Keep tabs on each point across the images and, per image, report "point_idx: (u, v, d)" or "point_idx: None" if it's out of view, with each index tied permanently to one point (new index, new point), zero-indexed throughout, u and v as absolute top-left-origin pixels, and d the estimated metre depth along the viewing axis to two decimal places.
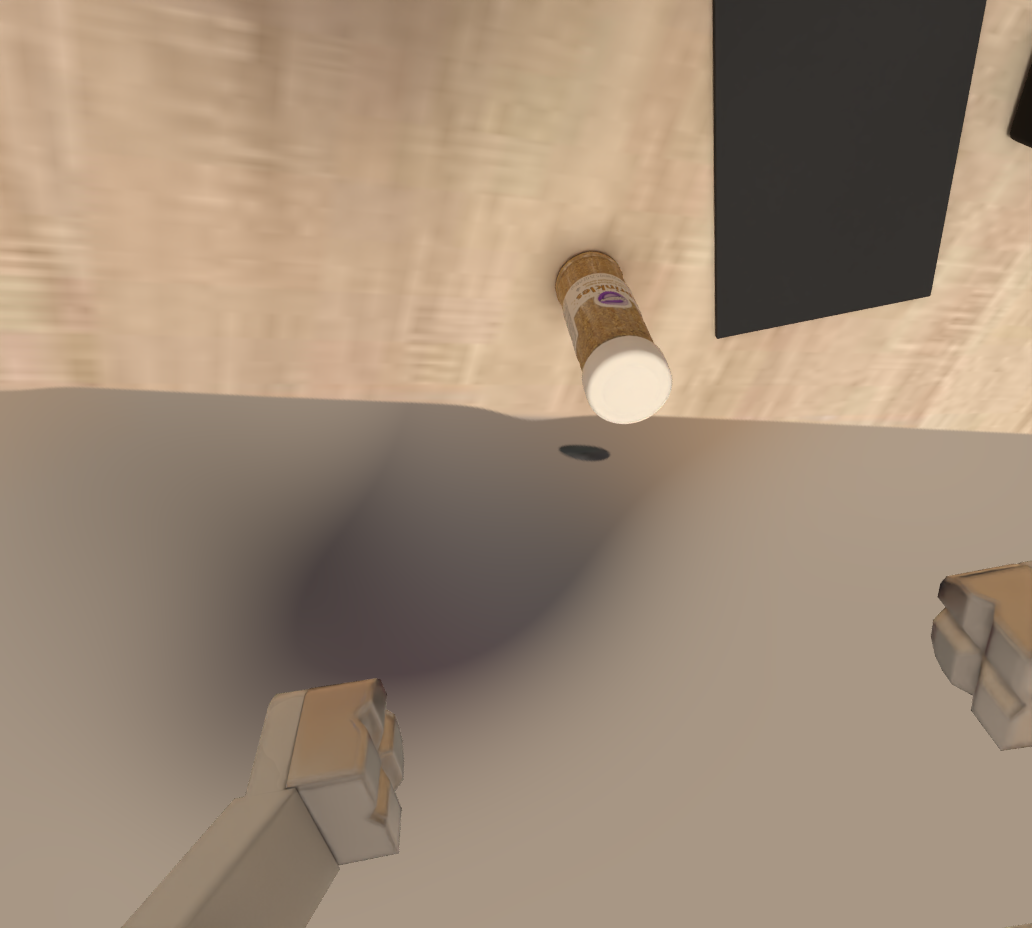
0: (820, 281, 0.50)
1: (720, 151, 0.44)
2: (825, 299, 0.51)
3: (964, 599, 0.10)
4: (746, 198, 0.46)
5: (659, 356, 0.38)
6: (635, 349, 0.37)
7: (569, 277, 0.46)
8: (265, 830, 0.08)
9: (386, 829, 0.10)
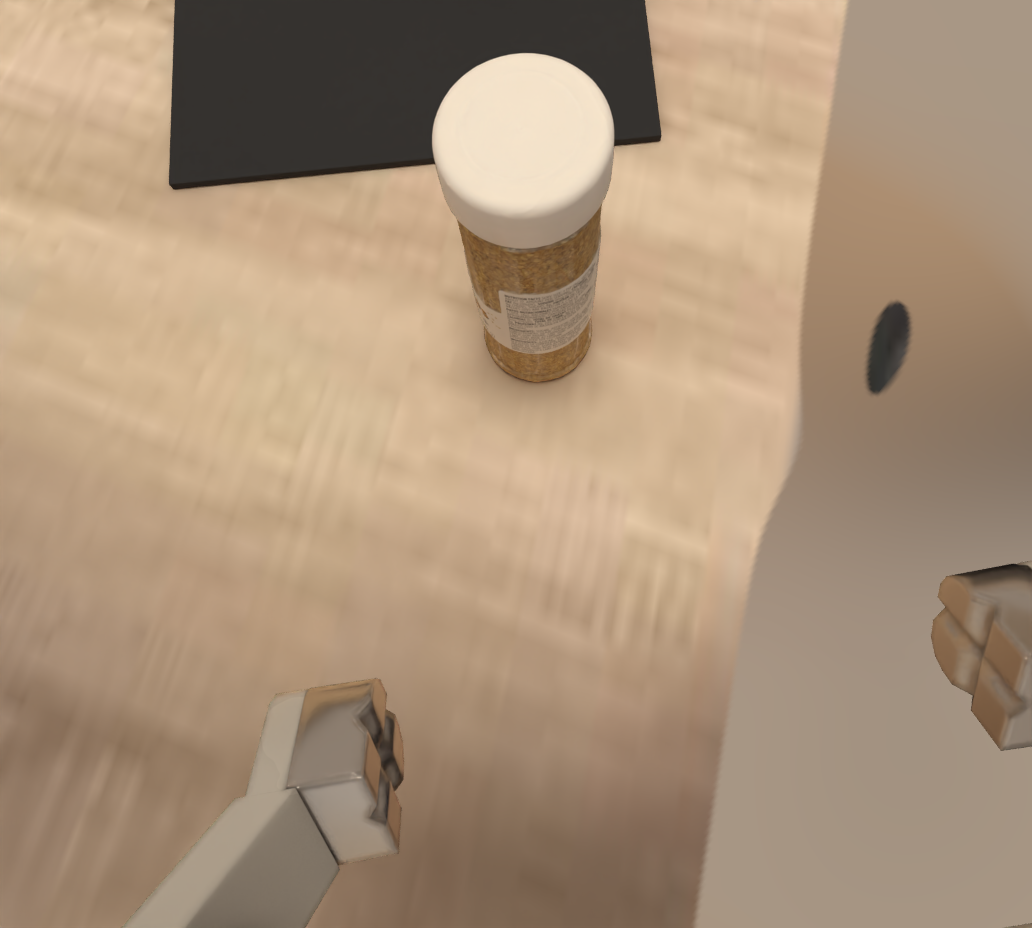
0: (581, 4, 0.34)
1: (370, 158, 0.33)
2: None
3: (964, 599, 0.10)
4: None
5: None
6: (433, 126, 0.18)
7: (498, 349, 0.29)
8: (265, 830, 0.08)
9: (386, 829, 0.10)
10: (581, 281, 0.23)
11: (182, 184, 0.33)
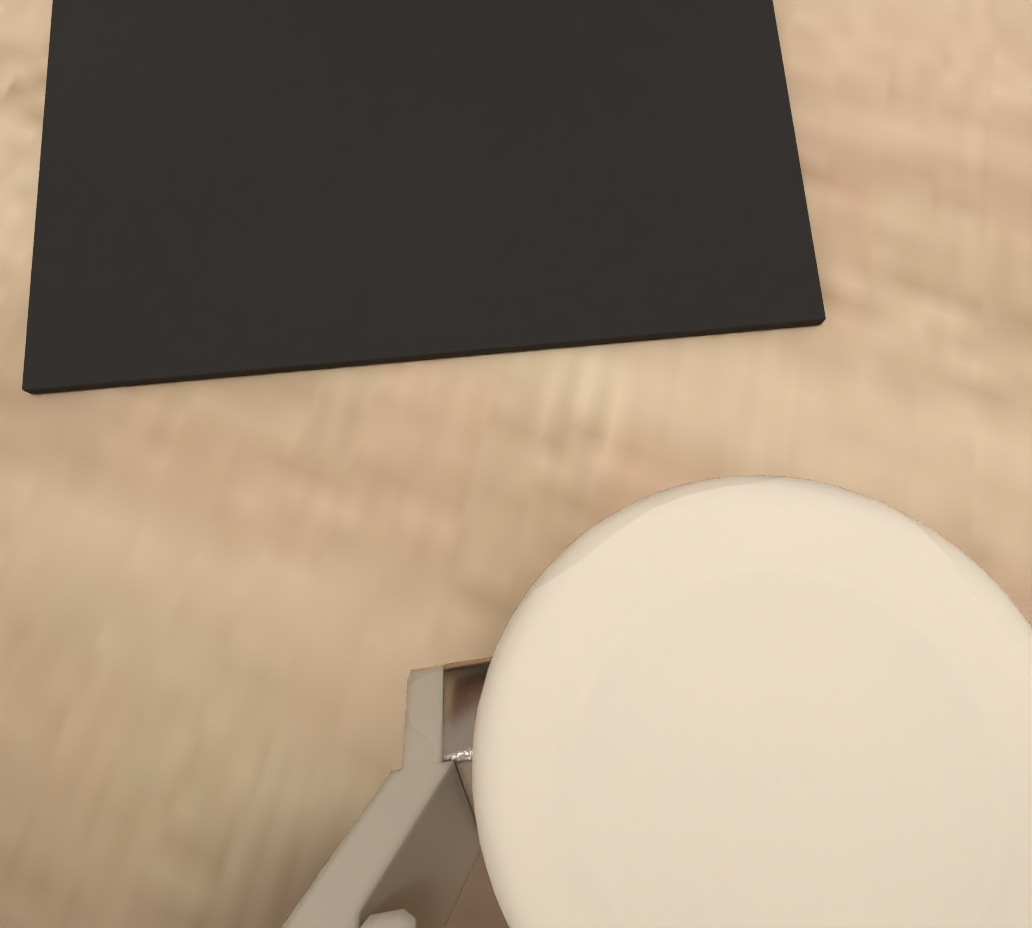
0: (685, 96, 0.21)
1: (346, 351, 0.20)
2: (735, 77, 0.21)
3: None
4: (459, 286, 0.20)
5: None
6: (476, 718, 0.06)
7: None
8: (430, 802, 0.08)
9: None
10: None
11: (43, 389, 0.21)
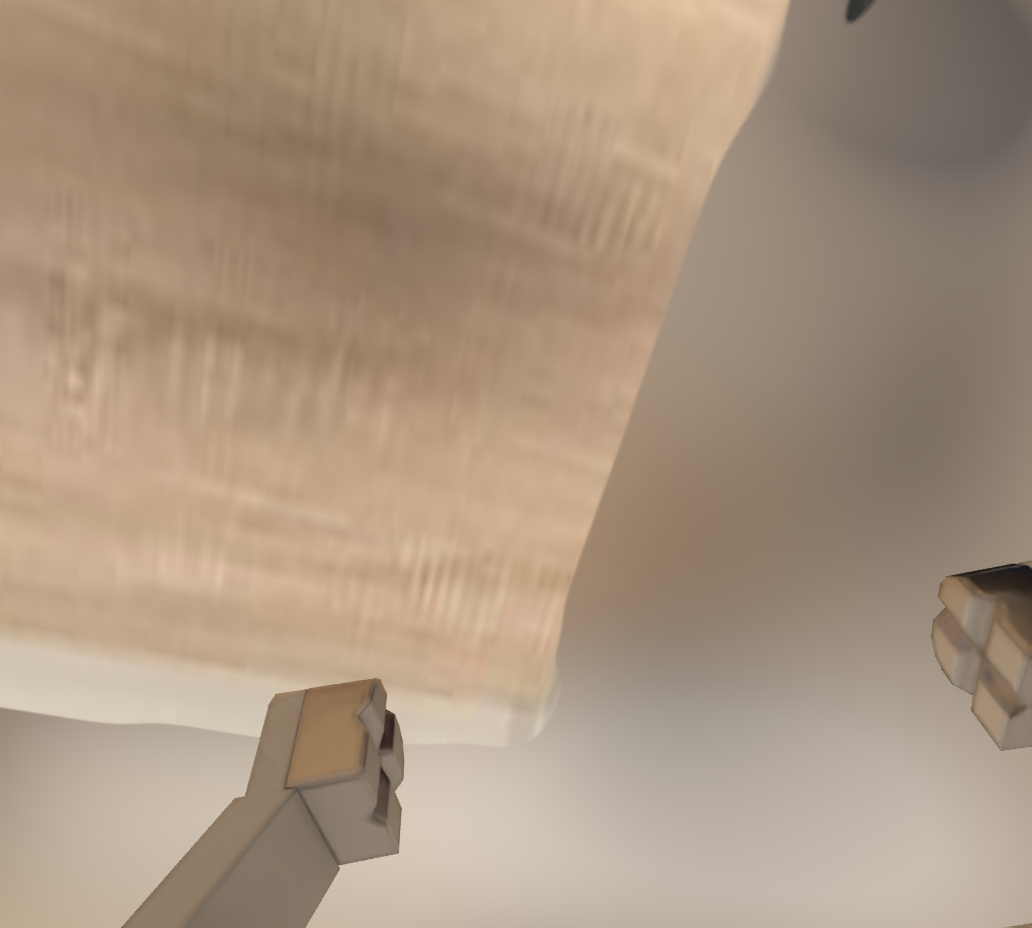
0: None
1: None
2: None
3: (963, 599, 0.10)
4: None
5: None
6: None
7: None
8: (264, 830, 0.08)
9: (386, 829, 0.10)
10: None
11: None
